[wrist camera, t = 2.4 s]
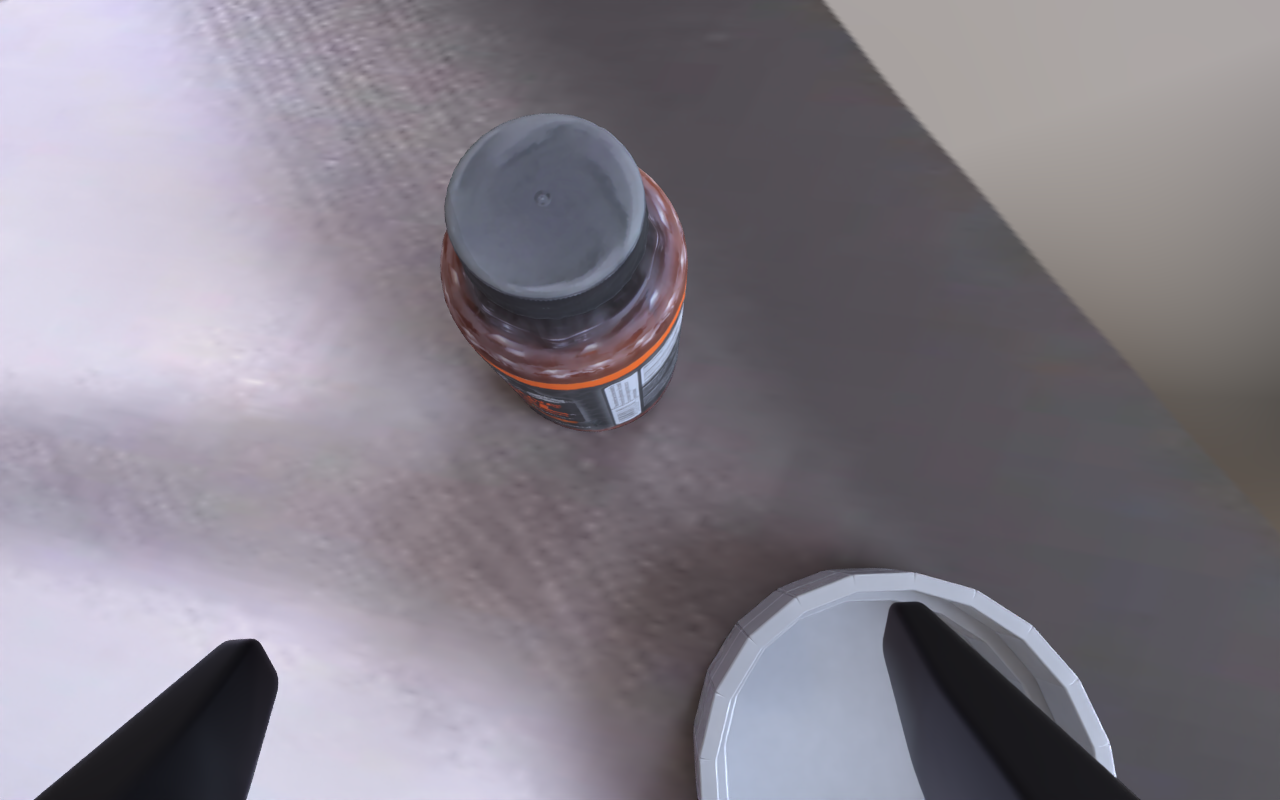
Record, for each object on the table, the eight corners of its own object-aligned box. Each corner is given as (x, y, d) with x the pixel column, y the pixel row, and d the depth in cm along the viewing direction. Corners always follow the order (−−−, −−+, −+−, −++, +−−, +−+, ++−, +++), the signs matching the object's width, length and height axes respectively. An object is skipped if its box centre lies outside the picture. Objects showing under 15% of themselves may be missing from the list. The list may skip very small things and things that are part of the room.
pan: (773, 1004, 20) (798, 1103, 16) (644, 638, 22) (641, 656, 18) (1109, 864, 20) (1201, 931, 17) (949, 520, 22) (1002, 516, 19)
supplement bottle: (479, 370, 24) (324, 226, 13) (581, 246, 25) (518, 11, 14) (610, 470, 23) (565, 407, 12) (711, 338, 24) (756, 166, 13)
